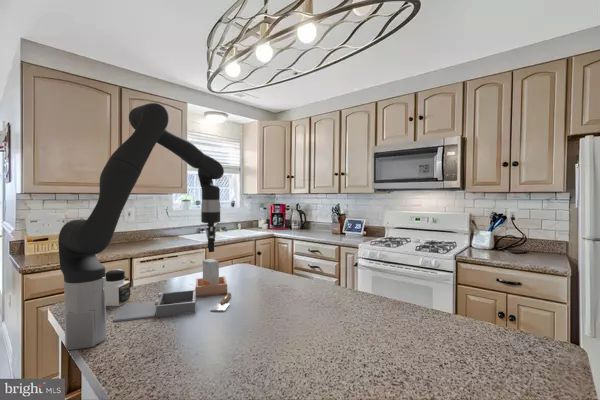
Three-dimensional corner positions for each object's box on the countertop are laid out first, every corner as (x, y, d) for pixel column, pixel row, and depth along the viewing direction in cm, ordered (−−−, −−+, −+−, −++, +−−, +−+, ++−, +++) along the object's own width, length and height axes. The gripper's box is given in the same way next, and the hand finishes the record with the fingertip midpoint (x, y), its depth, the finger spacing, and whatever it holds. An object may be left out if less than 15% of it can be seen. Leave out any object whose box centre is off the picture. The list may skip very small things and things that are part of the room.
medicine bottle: (119, 306, 110) (118, 273, 109) (99, 306, 110) (99, 273, 109) (130, 299, 117) (130, 268, 116) (112, 299, 117) (111, 268, 117)
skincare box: (202, 288, 127) (202, 260, 127) (211, 286, 130) (211, 258, 130) (210, 292, 123) (209, 262, 122) (219, 289, 126) (219, 260, 126)
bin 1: (195, 312, 104) (195, 299, 104) (112, 322, 96) (112, 308, 96) (195, 298, 117) (195, 287, 117) (123, 306, 110) (123, 294, 109)
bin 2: (227, 294, 123) (227, 284, 123) (195, 297, 119) (195, 287, 119) (224, 285, 134) (224, 276, 134) (195, 288, 131) (195, 278, 130)
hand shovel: (222, 296, 120) (222, 292, 120) (235, 296, 120) (235, 292, 119) (210, 311, 105) (210, 307, 105) (224, 311, 105) (224, 307, 104)
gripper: (221, 211, 120) (221, 252, 121) (219, 210, 134) (219, 247, 134) (201, 211, 118) (201, 253, 118) (201, 210, 132) (201, 247, 132)
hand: (210, 250), depth 126 cm, fingers open, 8 cm apart
